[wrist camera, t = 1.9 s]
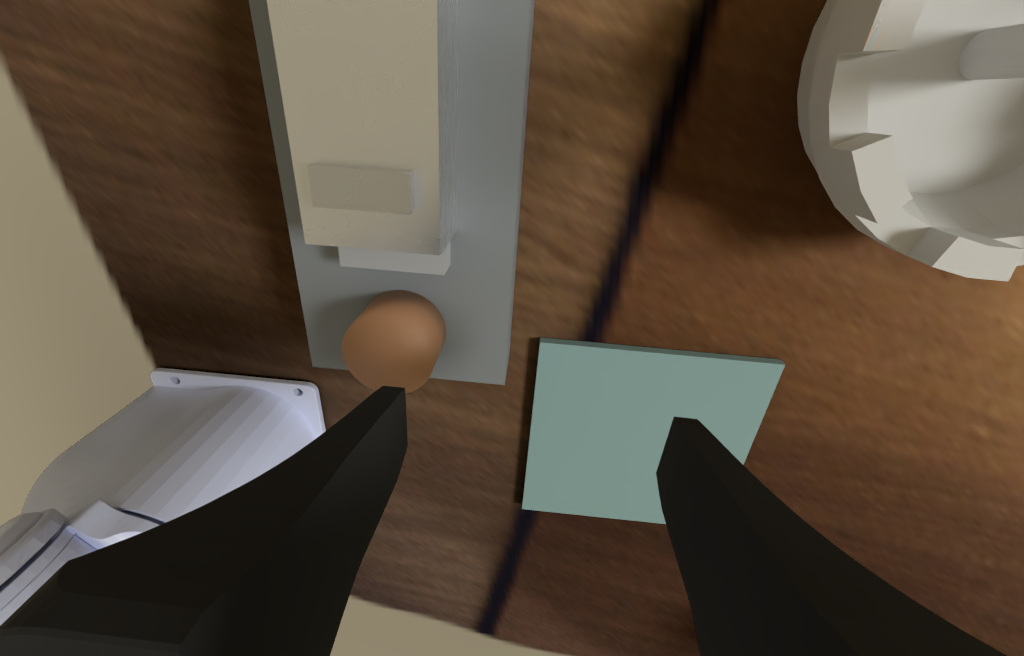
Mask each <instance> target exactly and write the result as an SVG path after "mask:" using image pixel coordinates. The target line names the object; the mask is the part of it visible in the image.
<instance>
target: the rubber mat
mask: <svg viewBox="0 0 1024 656" xmlns="http://www.w3.org/2000/svg"><path fill="white" fill-rule="evenodd" d="M784 366H785V364H784V363H783V362H782V361H781V360H780V359H770V358H759V357H749V356H738V355H727V354H716V353H705V352H694V351H683V350H672V349H661V348H650V347H639V346H628V345H617V344H606V343H595V342H584V341H573V340H562V339H551V338H540V344H539V353H538V363H537V372H536V381H535V390H534V400H533V409H532V418H531V428H530V437H529V446H528V456H527V465H526V474H525V483H524V493H523V502H522V509H527V510H537V511H546V512H556V513H565V514H575V515H585V516H594V517H604V518H613V519H623V520H632V521H642V522H651V523H661V524H666V522H665V519H664V515H663V511H662V507H661V501H660V496H659V490H658V483H657V476H656V472H657V468H658V465H659V462H660V459H661V456H662V453H663V449H664V446H665V443H666V440H667V437H668V434H669V430H670V427H671V424H672V421H673V418H674V417H683V418H692V419H698V420H699V421H700V422H701V423H702V424H703V425H704V426H705V427H706V428H707V429H708V430H709V431H710V432H711V433H712V434H713V435H714V436H715V437H716V438H717V439H718V440H719V441H720V442H721V443H722V444H723V445H724V446H725V447H726V448H727V449H728V450H729V451H730V452H731V453H732V454H733V455H734V456H735V457H736V458H737V459H738V460H739V461H740V462H741V463H742V464H744V462H745V460H746V457H747V455H748V452H749V450H750V448H751V445H752V443H753V441H754V438H755V436H756V433H757V431H758V429H759V426H760V424H761V421H762V419H763V417H764V414H765V412H766V409H767V407H768V405H769V402H770V400H771V397H772V395H773V393H774V390H775V388H776V386H777V383H778V381H779V378H780V376H781V374H782V371H783V369H784Z"/></svg>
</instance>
